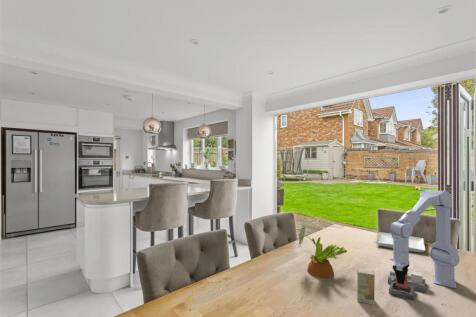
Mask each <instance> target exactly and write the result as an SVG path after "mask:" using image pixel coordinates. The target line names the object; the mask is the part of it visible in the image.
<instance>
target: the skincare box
mask: <svg viewBox="0 0 476 317" xmlns="http://www.w3.org/2000/svg"><path fill="white" fill-rule="evenodd" d="M356 270H357V272H356V273H357V276H356V278H357V279H356V280H357V281H356V282H357V283H356V299H357V302H358V303H359V302H360V303H365V304H368V305H369V304H370V305H375V285H376V284H375V281H376V280H375V271H374V270H373V269H372V270H371V269H367V268H359V267H358V268H357V269H356Z"/></svg>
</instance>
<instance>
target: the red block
mask: <svg viewBox="0 0 476 317" xmlns="http://www.w3.org/2000/svg"><path fill="white" fill-rule="evenodd" d="M396 286H400V287H404V288H407V286H408V272H407V274H406V276H405V281H404V284H400V283H398V282H397V278H396Z"/></svg>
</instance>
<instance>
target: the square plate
mask: <svg viewBox="0 0 476 317" xmlns="http://www.w3.org/2000/svg"><path fill="white" fill-rule="evenodd" d="M374 243H375V244H376V245H377V246H380V247H384V248H388V249H389V248H390V249H393V238H392V234H391V232H389V233H388V232H382V231H381V232H380V231H379V232H378V235H377V237H376V239H375V241H374ZM426 250H427V249H426V246H425V238H423V237H417V236H412V235H411V236H410V237H409V252H412V253H413V252H415V253H420V254H421V253H424V252H426Z"/></svg>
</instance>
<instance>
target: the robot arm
mask: <svg viewBox="0 0 476 317" xmlns="http://www.w3.org/2000/svg"><path fill="white" fill-rule="evenodd" d="M452 195H453V194H451V193H450V192H449V191H447V190H435V189H429V188H424V189H422V191H421V192H420V193H419V200H418V201H417V202H416V204H415V205H414V206H413V207H412V209H410V210H406V211H405V213H404V214H402V215H401V217H400V218H399V219H398V220H397V221H394V222H392V223H391V224H390V226H389V227H388V228H389V233H391V234H392V238H393V248H392V250H393V251H392V252H393V253H392V254H393V255H392V257H390V258H389V260H390V261H392V262H393V263H394V265H392V270H393V272H395V274H396V278H397V282H398V283H400V284H404V281H405V276H406V274H407V273H408V272H409V267H410V251H409V237H410V236H412V235H413V230H414V227H415V226H416V225H417V223H419V221H420V220H421V216H420V215H422V214H423V212H425V211H426V210H427V209H429V207H431V206H432V207H433V209H435V242H433V243H431V244H430V249H429V257H430V259H431V260H432V262H434V263H433V265H434V266H433V267H434V274H433V284H435V285H441V286H444V287H448V288H452V289H457V284H456V279H455V277H456V276H455V274H456V273H455V267H456V266H458V265H459V263H460V260H461V257H460V255H459V250H458V248H456V247H455V246H454V245H453V244H452V242H451V236H452V234H451V231H452V230H451V209H452V208H453V199H452V197H453V196H452Z"/></svg>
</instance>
